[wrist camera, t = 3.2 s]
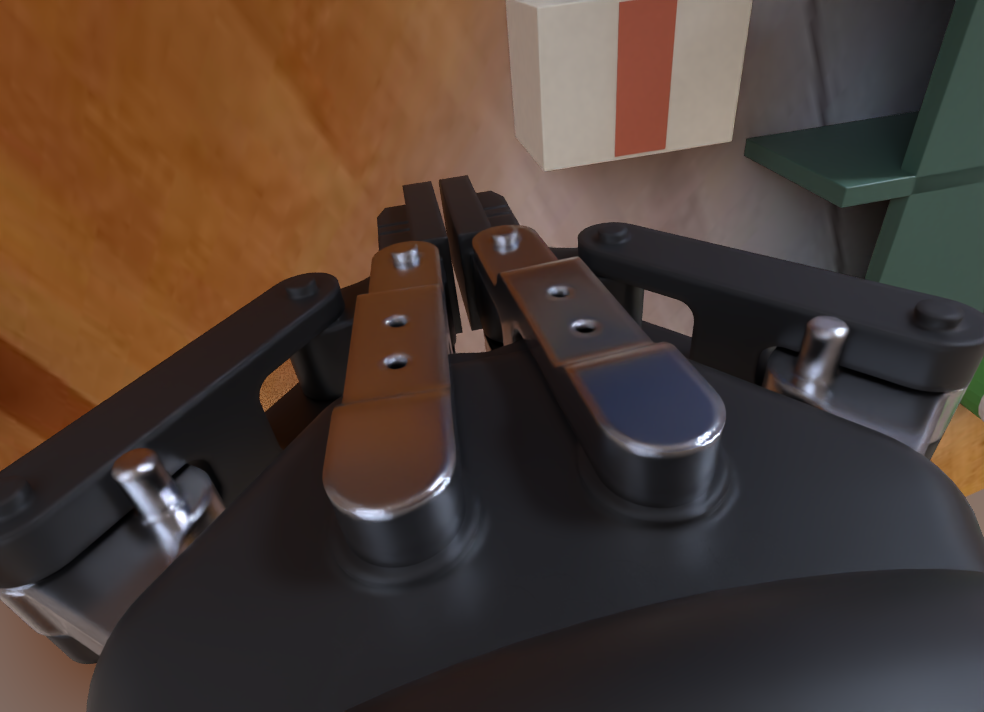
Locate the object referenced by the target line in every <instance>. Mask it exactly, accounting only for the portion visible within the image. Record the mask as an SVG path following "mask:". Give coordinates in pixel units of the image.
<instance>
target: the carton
mask: <svg viewBox="0 0 984 712" xmlns="http://www.w3.org/2000/svg"><path fill="white" fill-rule="evenodd" d="M752 2H753V0H506V11H507V26H508V40H509V54H510V68H511V82H512V96H513V110H514V124H515V137H516V138H517V139H518V140H519V142H520V143H521V144H522V145H523V147H524V148H525V149H526V150H527V151H528V153H529V154H530V155H531V156H532V158H533V159H534V160H535V161H536V163H537V164H538V165H539V166H540V167H541V169H542V170H543V171H544V172H548V171H554V170H560V169H566V168H572V167H579V166H585V165H591V164H597V163H603V162H610V161H616V160H622V159H628V158H634V157H640V156H647V155H653V154H659V153H665V152H671V151H678V150H684V149H690V148H696V147H702V146H708V145H715V144H721V143H727V142H731V141H732V136H733V130H734V123H735V116H736V109H737V103H738V96H739V89H740V83H741V76H742V69H743V62H744V56H745V49H746V42H747V35H748V29H749V22H750V15H751V8H752Z"/></svg>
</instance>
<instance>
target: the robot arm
mask: <svg viewBox="0 0 984 712" xmlns="http://www.w3.org/2000/svg"><path fill="white" fill-rule="evenodd" d="M439 187H440V194H441V200H442V207H443V213H444V220H445V226H446V229H445V226H444V223H443V219H442V216H441V213H440V209H439V206H438V203H437V199H436V196H435V193H434V189H433V186H432V183H431V181H428V182H422V183H416V184H409V185H403V192H404V198H405V203H406V205H401V206H395V207H389V208H385V209H384V210H383V211H382V212H381V213H380V215H379V216H378V217H377V224H378V241H379V251H378V252H377V253H376V254H375V255H374V257H373V258H372V264H371V273H370V276H369V277H368V278H366V279H365V280H363V281H360V282H358V283H356V284H353V285H350V286H347V287H345V288H342V289H340V286H339V283H338V280H337V278H336V277H334V276H333V275H330V274H327V273H306V274H301V275H297V276H294V277H291V278H288V279H286V280H283V281H281V282H280V283H278V284H276V285H275V286H273V287H272V288H270V289H269V290H267V291H266V292H264V293H263V294H262V295H260V296H259V297H257V298H256V299H254V300H253V301H251V302H250V303H248V304H247V305H245V306H244V307H242V308H241V309H239V310H238V311H236V312H235V313H233V314H232V315H231V316H229V317H228V318H226V319H225V320H223V321H222V322H220V323H219V324H217V325H216V326H214V327H213V328H211V329H210V330H208V331H207V332H205V333H204V334H203V335H201V336H200V337H198V338H197V339H195V340H194V341H192V342H191V343H189V344H188V345H186V346H185V347H183V348H182V349H180V350H179V351H177V352H176V353H174V354H173V355H172V356H170V357H169V358H167V359H166V360H164V361H163V362H161V363H160V364H158V365H157V366H155V367H154V368H152V369H151V370H149V371H148V372H146V373H145V374H143V375H142V376H141V377H139V378H138V379H136V380H135V381H133V382H132V383H130V384H129V385H127V386H126V387H124V388H123V389H121V390H120V391H118V392H117V393H115V394H114V395H113V396H111V397H110V398H108V399H107V400H105V401H104V402H102V403H101V404H99V405H98V406H96V407H95V408H93V409H92V410H90V411H89V412H87V413H86V414H84V415H83V416H82V417H80V418H79V419H77V420H76V421H74V422H73V423H71V424H70V425H68V426H67V427H65V428H64V429H62V430H61V431H59V432H58V433H56V434H55V435H53V436H52V437H51V438H49V439H48V440H46V441H45V442H43V443H42V444H40V445H39V446H37V447H36V448H34V449H33V450H31V451H30V452H28V453H27V454H25V455H24V456H22V457H21V458H20V459H18V460H17V461H15V462H14V463H12V464H11V465H9V466H8V467H6V468H5V469H3V470H2V471H0V600H1V601H2V602H3V603H4V604H5V605H6V606H8V607H9V608H10V609H11V610H12V611H13V612H14V613H15V614H16V615H18V616H19V617H20V618H21V619H22V620H23V621H24V622H25V623H26V624H28V625H29V626H30V627H31V628H32V629H33V630H35V631H36V632H37V633H39V634H42V635H45V636H46V637H47V638H49V639H50V640H51V641H52V642H53V643H54V644H55V645H56V646H57V647H59V648H60V649H61V650H62V651H63V652H64V653H65V654H66V655H67V656H68V657H69V658H71V659H72V660H74V661H76V662H78V663H82V664H93V663H97V664H96V667H95V670H94V674H93V676H92V680H91V683H90V689H89V694H88V700H87V712H984V537H983V535H982V532H981V530H980V527H979V524H978V521H977V519H976V516H975V513H974V511H973V509H972V508H971V506H970V504H969V503H968V501H967V500H966V498H965V496H964V495H963V493H962V492H961V491H960V490H959V489H958V487H957V486H956V485H955V484H954V482H953V481H952V480H951V479H950V478H949V477H948V476H947V475H946V474H945V473H944V472H943V471H942V470H941V469H940V468H939V467H938V466H936V465H935V464H934V463H932V462H931V461H930V459H931V457H932V455H933V453H934V452H935V450H936V448H937V446H938V444H939V442H940V440H941V438H942V436H943V434H944V432H945V430H946V428H947V426H948V424H949V423H950V421H951V419H952V417H953V415H954V413H955V411H956V409H957V407H958V405H959V403H960V401H961V399H962V397H963V395H964V394H965V392H966V390H967V388H968V386H969V384H970V382H971V380H972V378H973V376H974V374H975V372H976V370H977V368H978V366H979V364H980V363H981V361H982V359H983V357H984V314H983V313H981V312H980V311H978V310H976V309H975V308H973V307H971V306H968V305H966V304H963V303H961V302H958V301H955V300H951V299H947V298H943V297H939V296H934V295H930V294H926V293H922V292H917V291H913V290H909V289H905V288H900V287H896V286H892V285H888V284H883V283H879V282H875V281H871V280H866V279H862V278H858V277H854V276H849V275H845V274H841V273H837V272H832V271H828V270H824V269H820V268H815V267H811V266H807V265H803V264H798V263H794V262H790V261H786V260H781V259H777V258H773V257H769V256H764V255H760V254H756V253H751V252H747V251H743V250H739V249H734V248H730V247H726V246H722V245H717V244H713V243H709V242H705V241H700V240H696V239H692V238H688V237H683V236H679V235H675V234H671V233H666V232H662V231H658V230H654V229H649V228H645V227H641V226H637V225H632V224H627V223H620V222H609V223H601V224H596V225H592V226H590V227H587V228H585V229H584V230H582V231H581V232H580V233H579V235H578V248H552V247H548V246H547V245H546V244H545V242H544V241H543V240H542V238H541V237H540V236H539V235H538V233H537V232H536V231H535V230H533V229H531V228H529V227H526V226H521V225H519V223H518V221H517V219H516V218H515V216H514V214H513V213H512V211H511V209H510V207H509V206H508V204H507V202H506V200H505V199H504V197H503V196H501V195H499V194H497V193H495V192H493V191H486V192H480V193H476V192H475V190H474V188H473V186H472V184H471V181H470V179H469V177H468V175H465V176H459V177H453V178H446V179H440V180H439ZM446 232H447V233H446ZM451 260H452V261H451ZM452 264H453V267H452ZM453 268H454V271H455V274H456V278H457V281H458V285H459V288H460V292H461V295H462V299H463V302H464V306H465V309H466V312H467V316H468V319H469V323H470V326H471V330H472V331H473V330H478V329H483V331H484V339H485V347H486V352H481V353H456V351H455V343H456V334H457V333H462V326H461V319H460V313H459V306H458V300H457V293H456V287H455V280H454V274H453ZM644 289H645V290H648V291H651V292H655V293H658V294H661V295H664V296H668V297H671V298H674V299H677V300H680V301H682V302H684V303H685V304H686V305H687V306H688V307H689V308H690V309H691V311H692V313H693V316H694V326H693V334H692V337H689V336H686V335H683V334H680V333H677V332H675V331H672V330H669V329H666V328H663V327H660V326H657V325H654V324H651V323H648V322H645V321H642V313H643V299H644ZM289 358H290V360H291V362H292V365H293V367H294V370H295V373H296V375H297V378H298V380H299V383H298V384H296V385H295V386H294V387H293V388H292V389H291V390H290V391H289V392H287V393H286V394H285V395H284V396H283V397H282V398H281V399H279V400H278V401H277V402H276V403H275V404H274V405H273V406H271V407H270V408H269V409H268V410H267V411H266V412H264V410H263V408H262V405H261V403H260V399H259V393H260V388H261V386H262V383H263V382H264V380H265V379H266V377H267V376H268V375H269V374H271V373H272V372H273V371H274V370H276V369H277V368H278V367H279V366H280V365H282V364H283V363H284V362H285V361H287V360H288V359H289Z"/></svg>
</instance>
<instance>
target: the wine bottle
mask: <svg viewBox="0 0 984 712" xmlns="http://www.w3.org/2000/svg"><path fill="white" fill-rule="evenodd" d="M960 403H961V404H962V405H963V406H964V407H966V408H967V409H968V410H969V411H971V412H972V413H973V414H975V415H976V416H977V417H979V418H980V419H981V420H982V421H983V422H984V357H983V359H982V361H981V363H980V364H979V366H978V368H977V370H976V372H975V374H974V376H973V378H972V380H971V382H970V384H969V386H968V388H967V390H966V392H965V394H964V395H963V397H962V399H961V401H960Z"/></svg>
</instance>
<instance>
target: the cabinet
mask: <svg viewBox="0 0 984 712" xmlns="http://www.w3.org/2000/svg"><path fill="white" fill-rule="evenodd" d="M744 156H746V157H748V158H750V159H751V160H753V161H755V162H757V163H759V164H761V165H762V166H764V167H766V168H768V169H770V170H772V171H774V172H775V173H777V174H779V175H781V176H783V177H785V178H786V179H788V180H790V181H792V182H794V183H796V184H798V185H799V186H801V187H803V188H805V189H807V190H809V191H810V192H812V193H814V194H816V195H818V196H820V197H822V198H823V199H825V200H827V201H829V202H831V203H833V204H834V205H836V206H838V207H840V208H844V207H849V206H855V205H861V204H867V203H872V202H878V201H884V200H889V199H891V200H890V203H889V206H888V209H887V212H886V215H885V218H884V221H883V224H882V227H881V230H880V233H879V236H878V239H877V242H876V245H875V248H874V251H873V254H872V257H871V260H870V263H869V266H868V269H867V272H866V275H865V279H866V280H871V281H875V282H879V283H883V284H888V285H892V286H896V287H900V288H905V289H909V290H913V291H917V292H922V293H926V294H930V295H934V296H939V297H943V298H947V299H951V300H955V301H958V302H961V303H963V304H966V305H968V306H971V307H973V308H975V309H976V310H978V311H980V312H981V313H983V314H984V0H956V2H955V5H954V8H953V11H952V14H951V17H950V20H949V23H948V26H947V29H946V32H945V35H944V38H943V41H942V45H941V48H940V51H939V54H938V57H937V60H936V63H935V66H934V69H933V72H932V75H931V78H930V81H929V84H928V87H927V90H926V93H925V96H924V99H923V102H922V105H921V108H920V111H915V112H909V113H903V114H897V115H890V116H884V117H878V118H872V119H866V120H860V121H853V122H847V123H841V124H835V125H829V126H822V127H816V128H810V129H804V130H798V131H792V132H785V133H779V134H773V135H767V136H761V137H754V138H748V139H747V140H746V146H745V152H744Z"/></svg>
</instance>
